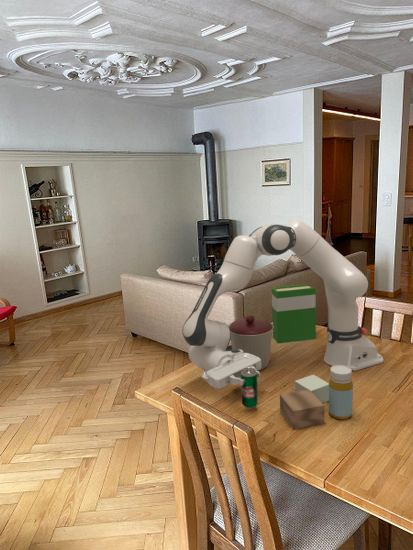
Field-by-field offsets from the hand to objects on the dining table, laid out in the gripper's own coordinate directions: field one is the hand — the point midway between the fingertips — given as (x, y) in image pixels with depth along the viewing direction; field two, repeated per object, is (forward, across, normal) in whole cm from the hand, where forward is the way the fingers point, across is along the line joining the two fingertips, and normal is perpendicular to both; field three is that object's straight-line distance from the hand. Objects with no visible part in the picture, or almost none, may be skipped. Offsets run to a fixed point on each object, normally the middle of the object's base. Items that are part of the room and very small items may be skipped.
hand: (251, 378), depth 129 cm
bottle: (+20, +18, +12) cm, 29 cm away
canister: (-23, +22, +12) cm, 34 cm away
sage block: (+8, +19, +12) cm, 24 cm away
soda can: (-1, 0, +10) cm, 10 cm away
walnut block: (+13, +8, +12) cm, 19 cm away
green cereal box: (-30, +55, +12) cm, 64 cm away
